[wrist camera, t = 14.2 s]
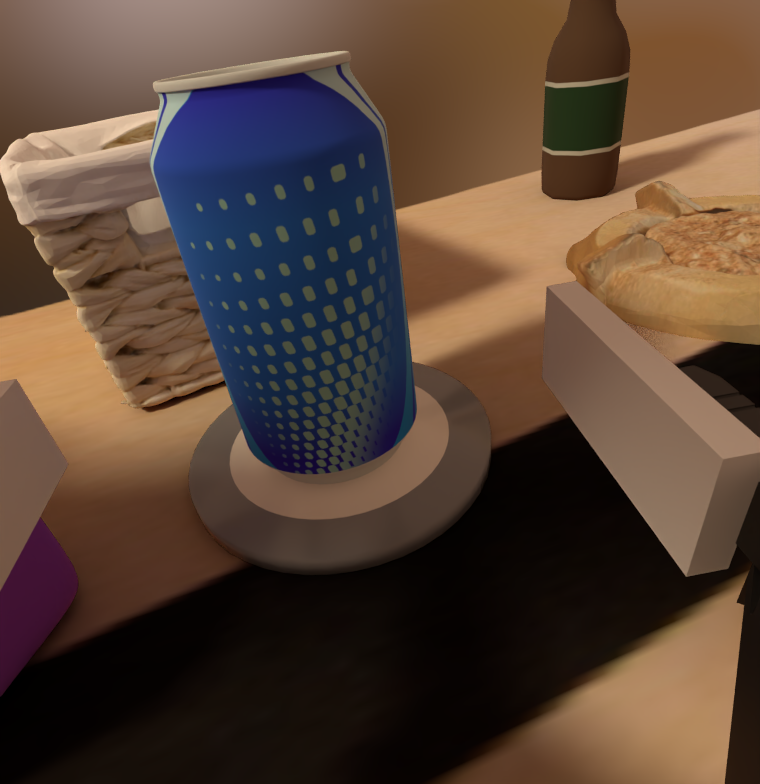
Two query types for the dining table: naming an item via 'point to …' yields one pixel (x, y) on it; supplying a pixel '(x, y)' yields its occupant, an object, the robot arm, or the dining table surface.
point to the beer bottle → (585, 102)
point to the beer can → (293, 257)
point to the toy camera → (33, 600)
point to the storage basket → (114, 252)
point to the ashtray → (678, 264)
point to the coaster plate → (346, 490)
